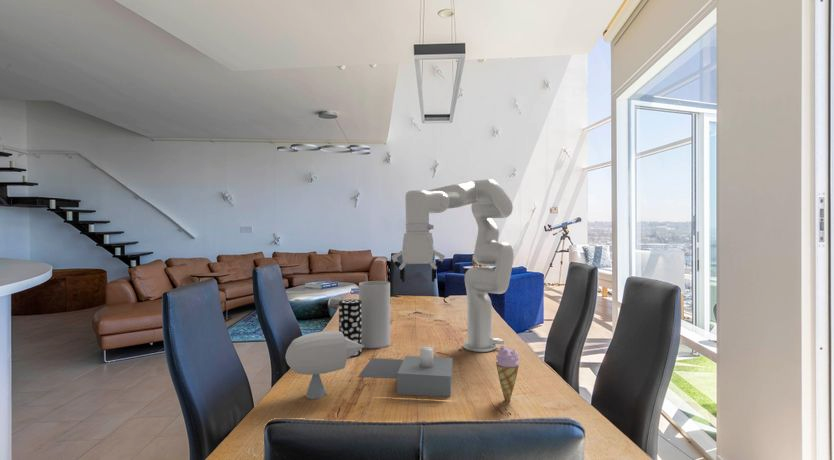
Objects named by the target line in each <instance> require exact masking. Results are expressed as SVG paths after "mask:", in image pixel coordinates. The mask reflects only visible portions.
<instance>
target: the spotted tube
mask: <svg viewBox="0 0 834 460" xmlns="http://www.w3.org/2000/svg"><path fill="white" fill-rule="evenodd" d="M338 331H340V332H342V333H343V335H344V337H345V338H347V339H350V340H352V341H354V342H357V343H359V344H361V345H362V301H361V300H359V299H353V298H352V299H351V298H350V299H342V300H339V301H338ZM362 351H363V348H362V349H360V350H359V351H358V352H356V353H355V354H354V355H352V356H351V357H349V358H356V357H359V356H362V353H363V352H362ZM349 358H348V359H349Z"/></svg>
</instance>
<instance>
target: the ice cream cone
mask: <svg viewBox="0 0 834 460" xmlns="http://www.w3.org/2000/svg"><path fill="white" fill-rule="evenodd" d="M498 350H499V351H498V352H497V354H496V357H495V358H496V362H495V365H496V369H497V376H498V379H499V380H498V381H499V384H500V388H501V390H502V391H501V392H502V395H503V398H504V399H503V400H504V401H505V402H510V401H511V399H512V395H513V391H514V388H515V385H516V380H517V376H518V370H519V365H520V360H519V353H518V351H516V350H515V349H513V350H512V349H511V347H508V346H504V345H501V346H500V347H499V348H498Z"/></svg>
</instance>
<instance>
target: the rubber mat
mask: <svg viewBox="0 0 834 460" xmlns="http://www.w3.org/2000/svg"><path fill="white" fill-rule="evenodd" d="M403 360H404V359H397V358H373V357H372V358H370V360H369V361H368V362H367V364H366V365H365V367H364V368H362V371H361V372H360V373H359V374H358V376H357V377H358V378H375V379H376V378H377V379H380V378H381V379H397V373H398V371H399V369H400V366H401V364H402V362H403Z"/></svg>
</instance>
